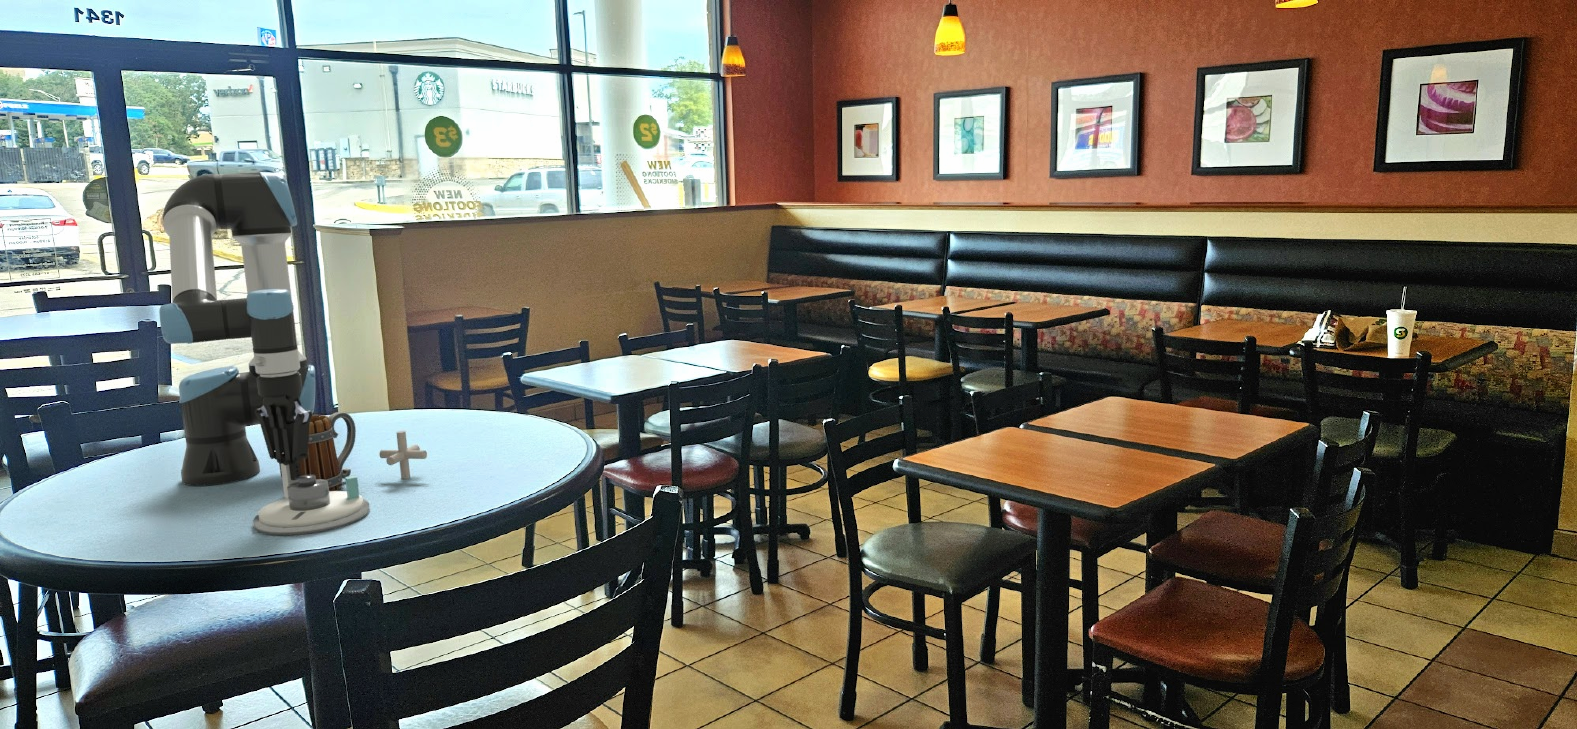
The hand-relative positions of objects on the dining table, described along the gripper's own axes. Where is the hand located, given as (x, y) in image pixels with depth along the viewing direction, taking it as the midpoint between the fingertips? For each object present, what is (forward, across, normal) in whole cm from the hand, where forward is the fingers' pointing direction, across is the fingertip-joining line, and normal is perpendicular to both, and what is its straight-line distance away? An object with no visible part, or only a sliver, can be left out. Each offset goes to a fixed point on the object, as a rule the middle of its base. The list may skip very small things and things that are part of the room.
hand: (293, 495), depth 204 cm
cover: (+1, +4, 0) cm, 4 cm away
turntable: (+3, +5, 0) cm, 5 cm away
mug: (+4, -10, +16) cm, 20 cm away
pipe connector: (+4, +1, +27) cm, 27 cm away
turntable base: (+4, +5, 0) cm, 6 cm away
